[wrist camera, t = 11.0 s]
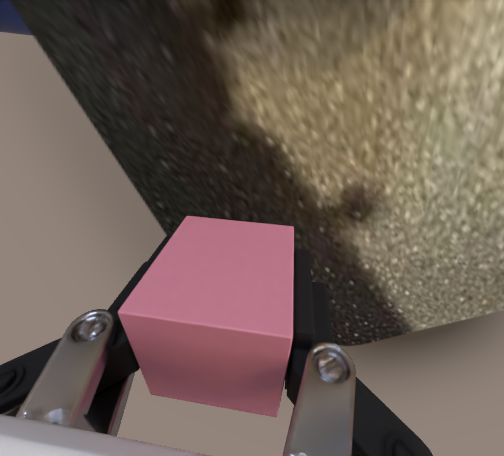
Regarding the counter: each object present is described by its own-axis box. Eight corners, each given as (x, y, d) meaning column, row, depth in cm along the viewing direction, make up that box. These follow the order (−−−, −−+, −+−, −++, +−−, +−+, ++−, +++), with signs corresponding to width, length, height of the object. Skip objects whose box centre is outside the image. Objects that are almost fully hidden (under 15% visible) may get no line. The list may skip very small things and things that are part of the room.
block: (196, 290, 13) (150, 395, 9) (186, 215, 11) (116, 311, 6) (283, 301, 13) (277, 418, 8) (294, 226, 10) (293, 338, 6)
